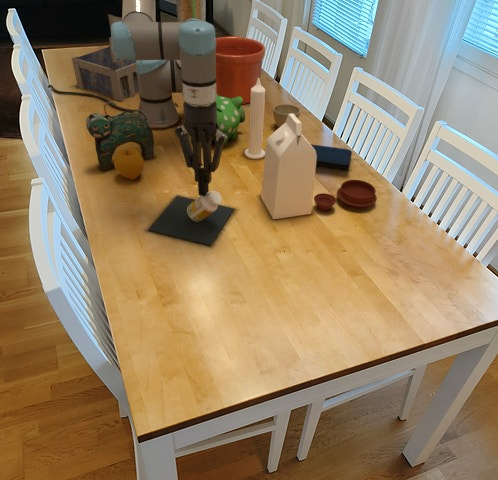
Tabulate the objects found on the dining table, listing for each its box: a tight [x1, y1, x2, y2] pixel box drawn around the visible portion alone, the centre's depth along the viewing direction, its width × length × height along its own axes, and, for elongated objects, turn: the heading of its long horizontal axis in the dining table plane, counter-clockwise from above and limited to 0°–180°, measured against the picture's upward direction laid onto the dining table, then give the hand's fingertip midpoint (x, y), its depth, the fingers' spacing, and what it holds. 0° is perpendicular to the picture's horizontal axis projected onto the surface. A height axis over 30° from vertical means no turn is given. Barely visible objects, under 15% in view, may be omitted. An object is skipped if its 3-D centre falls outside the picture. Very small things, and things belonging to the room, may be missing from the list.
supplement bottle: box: [187, 189, 223, 222], centre depth 122 cm, size 5×5×10 cm
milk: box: [260, 113, 317, 220], centre depth 125 cm, size 12×12×26 cm
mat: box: [147, 195, 235, 247], centre depth 126 cm, size 18×18×1 cm
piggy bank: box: [212, 95, 246, 147], centre depth 158 cm, size 14×18×15 cm
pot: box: [215, 36, 266, 105], centre depth 186 cm, size 25×25×19 cm
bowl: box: [272, 103, 301, 129], centre depth 169 cm, size 10×10×7 cm
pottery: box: [313, 179, 378, 212], centre depth 134 cm, size 12×20×4 cm, turn 113°
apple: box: [113, 148, 145, 181], centre depth 139 cm, size 9×9×9 cm
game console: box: [310, 143, 353, 171], centre depth 149 cm, size 16×13×9 cm
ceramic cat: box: [85, 101, 155, 171], centre depth 142 cm, size 20×6×20 cm, turn 122°
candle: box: [244, 78, 266, 160], centre depth 147 cm, size 7×7×25 cm
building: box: [71, 13, 139, 102], centre depth 187 cm, size 23×24×23 cm
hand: (203, 193), depth 119 cm, fingers closed
